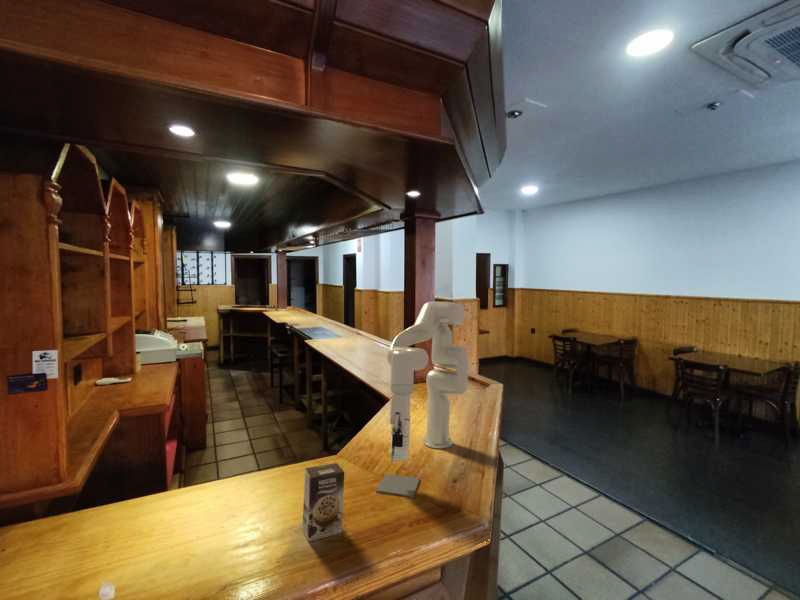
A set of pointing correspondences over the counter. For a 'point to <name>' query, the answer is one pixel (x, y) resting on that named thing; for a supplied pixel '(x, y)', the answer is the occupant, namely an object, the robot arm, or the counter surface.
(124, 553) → the counter surface
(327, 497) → the cookie box
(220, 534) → the counter surface
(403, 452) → the syrup box
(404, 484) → the mat
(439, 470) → the counter surface
